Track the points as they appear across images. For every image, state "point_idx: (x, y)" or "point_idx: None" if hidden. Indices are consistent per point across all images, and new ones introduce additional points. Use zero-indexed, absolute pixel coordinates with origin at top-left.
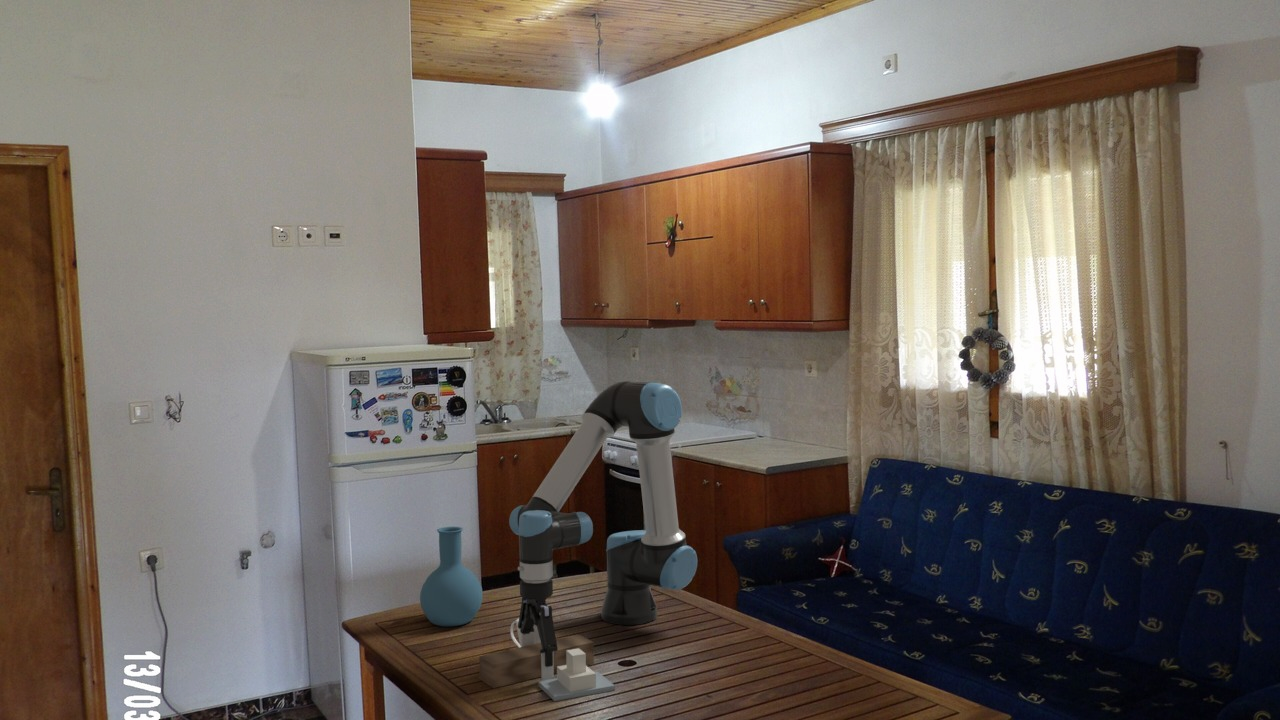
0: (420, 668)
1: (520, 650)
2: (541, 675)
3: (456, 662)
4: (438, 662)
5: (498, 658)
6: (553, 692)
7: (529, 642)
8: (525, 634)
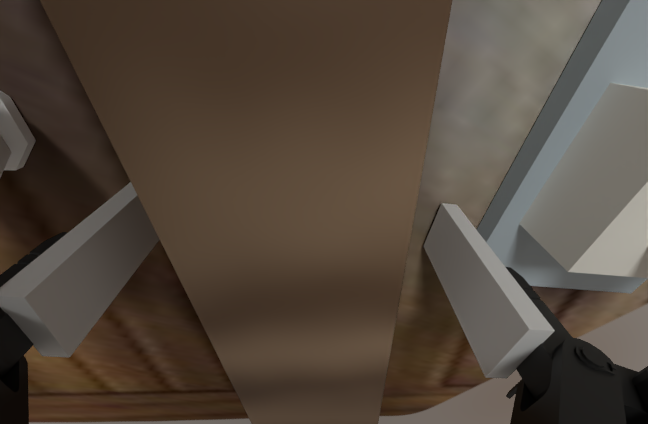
0: (131, 405)
1: (269, 356)
2: (432, 260)
3: (98, 357)
4: (89, 380)
5: (322, 418)
6: (601, 282)
7: (95, 267)
8: (46, 340)
